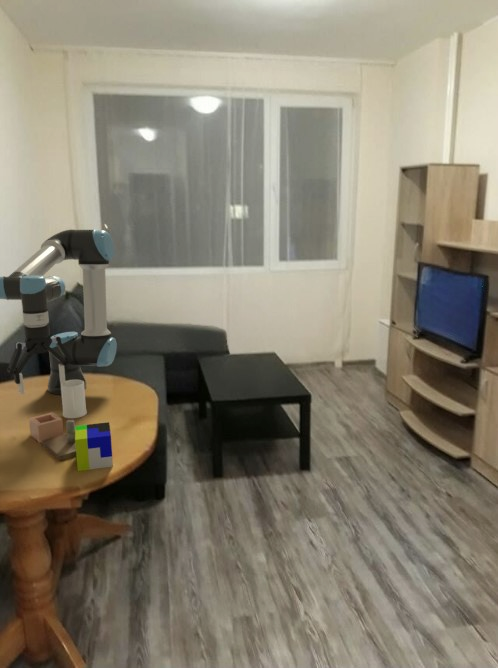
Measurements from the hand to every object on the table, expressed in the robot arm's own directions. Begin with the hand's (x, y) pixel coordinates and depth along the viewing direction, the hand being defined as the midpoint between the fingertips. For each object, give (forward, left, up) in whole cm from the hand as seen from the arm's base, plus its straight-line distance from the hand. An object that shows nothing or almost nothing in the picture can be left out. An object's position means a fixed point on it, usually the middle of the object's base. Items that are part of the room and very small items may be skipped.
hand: (42, 388), depth 179 cm
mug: (-14, -10, -17) cm, 24 cm away
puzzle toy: (-4, +27, -17) cm, 32 cm away
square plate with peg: (-3, +13, -17) cm, 21 cm away
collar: (0, 0, -17) cm, 17 cm away
